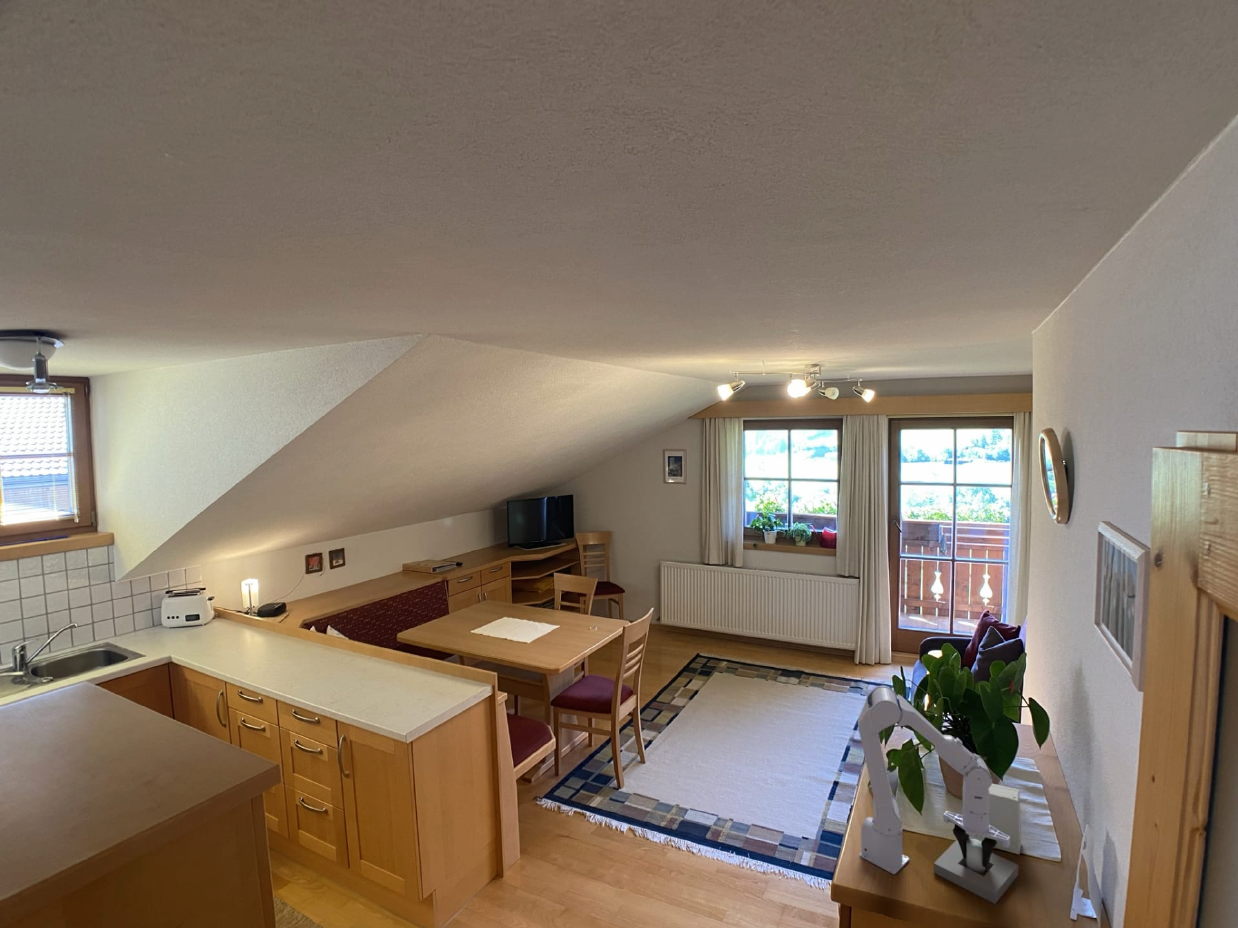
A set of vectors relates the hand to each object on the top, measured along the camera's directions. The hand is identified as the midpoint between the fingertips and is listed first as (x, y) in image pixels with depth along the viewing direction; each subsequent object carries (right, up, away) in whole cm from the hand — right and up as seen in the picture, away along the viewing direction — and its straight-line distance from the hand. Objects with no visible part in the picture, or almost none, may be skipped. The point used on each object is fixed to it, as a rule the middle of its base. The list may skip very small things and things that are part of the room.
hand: (975, 860), depth 159 cm
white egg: (0, -2, 0) cm, 2 cm away
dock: (0, -3, 0) cm, 3 cm away
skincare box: (+13, -2, +10) cm, 16 cm away
